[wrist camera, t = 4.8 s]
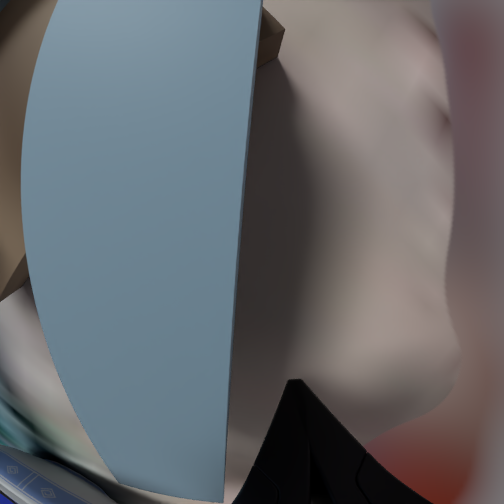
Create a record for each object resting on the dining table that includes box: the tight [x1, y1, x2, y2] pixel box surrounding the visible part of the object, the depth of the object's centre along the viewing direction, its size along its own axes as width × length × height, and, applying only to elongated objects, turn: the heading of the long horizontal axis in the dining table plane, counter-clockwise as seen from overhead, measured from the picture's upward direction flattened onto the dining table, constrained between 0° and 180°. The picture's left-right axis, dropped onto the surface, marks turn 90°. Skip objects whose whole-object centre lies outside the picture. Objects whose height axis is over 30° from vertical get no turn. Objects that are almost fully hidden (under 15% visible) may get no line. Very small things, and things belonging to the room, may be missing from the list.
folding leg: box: [21, 0, 263, 503], centre depth 4 cm, size 14×3×4 cm, turn 175°
